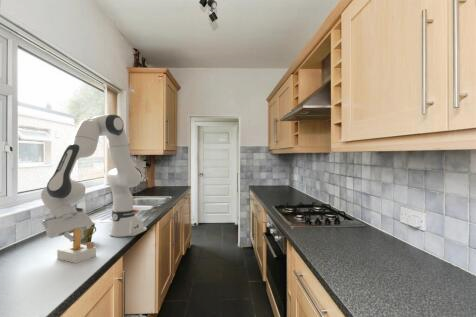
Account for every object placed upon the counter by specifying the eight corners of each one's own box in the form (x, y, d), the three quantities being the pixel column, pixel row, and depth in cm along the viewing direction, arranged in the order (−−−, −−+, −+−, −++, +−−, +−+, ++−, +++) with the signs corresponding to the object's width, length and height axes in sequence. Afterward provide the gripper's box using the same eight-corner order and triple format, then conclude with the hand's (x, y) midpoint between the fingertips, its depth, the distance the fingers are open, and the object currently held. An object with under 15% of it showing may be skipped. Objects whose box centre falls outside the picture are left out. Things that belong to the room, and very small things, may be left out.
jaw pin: (77, 248, 128) (77, 228, 128) (81, 249, 127) (82, 229, 127) (71, 250, 125) (71, 230, 125) (75, 251, 124) (76, 231, 124)
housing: (77, 251, 133) (77, 239, 133) (95, 255, 128) (96, 242, 128) (57, 258, 124) (57, 245, 124) (76, 263, 119) (76, 249, 119)
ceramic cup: (68, 244, 144) (68, 225, 144) (85, 239, 153) (85, 221, 153) (87, 247, 139) (87, 227, 139) (103, 242, 149) (103, 223, 149)
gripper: (44, 215, 119) (58, 241, 115) (86, 207, 138) (100, 229, 134) (37, 224, 121) (51, 250, 117) (79, 215, 140) (93, 237, 136)
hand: (77, 239), depth 126 cm, fingers closed on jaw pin, 3 cm apart
